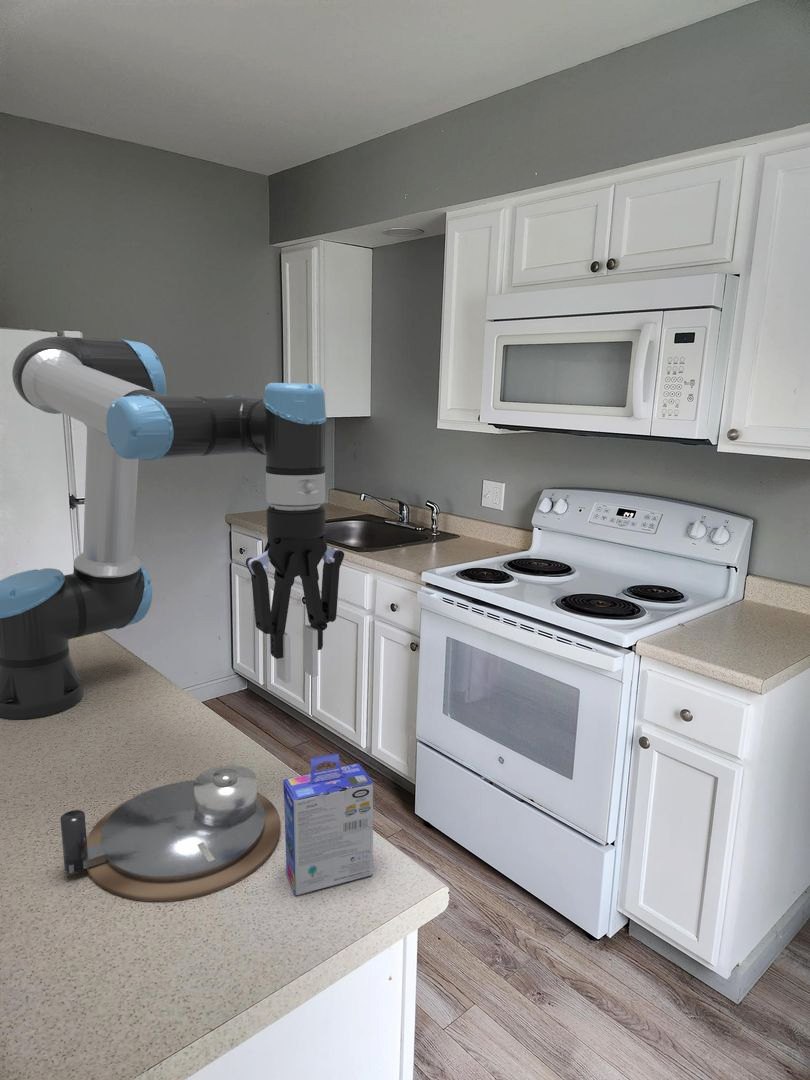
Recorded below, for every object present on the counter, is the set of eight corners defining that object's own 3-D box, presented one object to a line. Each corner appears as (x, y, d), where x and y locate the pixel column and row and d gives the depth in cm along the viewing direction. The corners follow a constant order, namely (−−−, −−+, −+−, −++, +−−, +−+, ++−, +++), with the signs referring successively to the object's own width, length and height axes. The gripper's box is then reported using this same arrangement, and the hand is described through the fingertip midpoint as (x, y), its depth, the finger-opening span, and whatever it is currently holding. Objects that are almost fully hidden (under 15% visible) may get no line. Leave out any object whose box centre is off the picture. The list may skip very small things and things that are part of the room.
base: (66, 820, 96) (65, 815, 96) (238, 770, 110) (238, 765, 110) (111, 932, 77) (110, 925, 77) (313, 854, 91) (313, 848, 91)
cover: (186, 803, 97) (184, 769, 96) (243, 786, 102) (242, 753, 101) (207, 833, 91) (206, 797, 90) (267, 813, 95) (266, 779, 94)
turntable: (49, 827, 93) (45, 781, 92) (230, 773, 107) (229, 733, 106) (83, 921, 77) (79, 867, 76) (291, 844, 91) (290, 797, 90)
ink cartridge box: (359, 849, 92) (360, 744, 89) (375, 876, 87) (377, 765, 84) (282, 868, 88) (281, 759, 85) (295, 897, 83) (293, 782, 80)
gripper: (247, 514, 86) (251, 699, 91) (365, 504, 96) (363, 672, 100) (223, 505, 92) (228, 679, 97) (337, 497, 102) (336, 656, 106)
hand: (297, 675), depth 99 cm, fingers open, 3 cm apart
